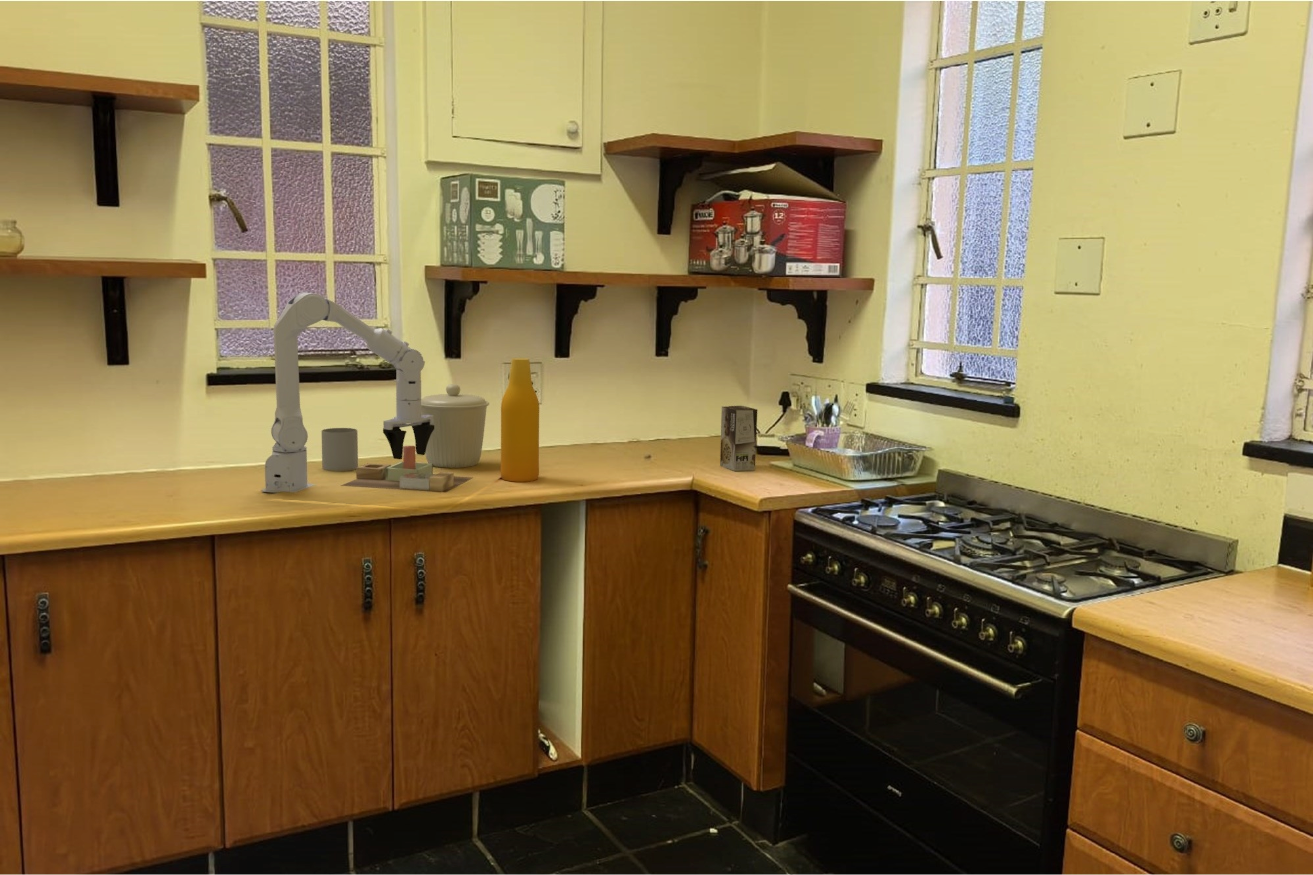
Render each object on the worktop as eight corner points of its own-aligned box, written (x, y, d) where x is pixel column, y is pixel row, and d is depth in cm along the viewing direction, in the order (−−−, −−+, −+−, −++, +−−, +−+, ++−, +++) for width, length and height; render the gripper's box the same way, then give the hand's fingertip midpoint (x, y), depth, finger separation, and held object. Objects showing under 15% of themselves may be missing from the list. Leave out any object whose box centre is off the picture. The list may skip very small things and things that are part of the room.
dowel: (411, 477, 245) (410, 447, 244) (401, 476, 246) (400, 446, 245) (417, 475, 248) (417, 446, 247) (408, 474, 249) (407, 445, 248)
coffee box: (756, 470, 272) (758, 409, 270) (733, 471, 270) (736, 409, 267) (740, 464, 281) (742, 405, 278) (718, 465, 278) (721, 405, 276)
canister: (450, 457, 279) (450, 379, 276) (503, 465, 270) (503, 384, 267) (402, 467, 264) (401, 384, 261) (456, 475, 255) (456, 389, 252)
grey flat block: (429, 490, 234) (429, 479, 233) (399, 488, 235) (399, 477, 235) (439, 485, 240) (439, 474, 239) (410, 483, 241) (410, 472, 240)
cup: (363, 468, 261) (362, 428, 260) (350, 474, 253) (349, 433, 252) (330, 466, 262) (329, 427, 260) (316, 472, 254) (315, 432, 252)
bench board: (445, 494, 232) (445, 478, 232) (338, 488, 236) (338, 472, 236) (473, 479, 250) (473, 465, 249) (373, 473, 254) (372, 459, 253)
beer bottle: (535, 482, 248) (536, 361, 244) (496, 481, 249) (497, 359, 244) (541, 475, 257) (542, 358, 253) (504, 474, 258) (504, 357, 254)
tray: (418, 482, 242) (418, 470, 242) (385, 480, 243) (385, 468, 243) (432, 475, 251) (432, 463, 250) (401, 473, 252) (401, 461, 252)
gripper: (417, 395, 253) (418, 450, 255) (373, 400, 240) (374, 458, 242) (439, 397, 249) (440, 454, 251) (395, 403, 237) (396, 462, 239)
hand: (409, 456), depth 246 cm, fingers open, 7 cm apart
